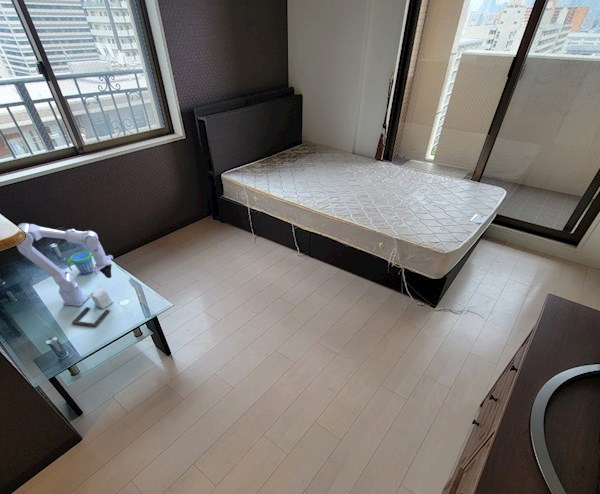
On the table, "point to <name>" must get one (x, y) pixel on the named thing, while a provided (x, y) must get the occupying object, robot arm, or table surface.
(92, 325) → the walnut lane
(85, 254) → the snack cup
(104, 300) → the white cardboard box
